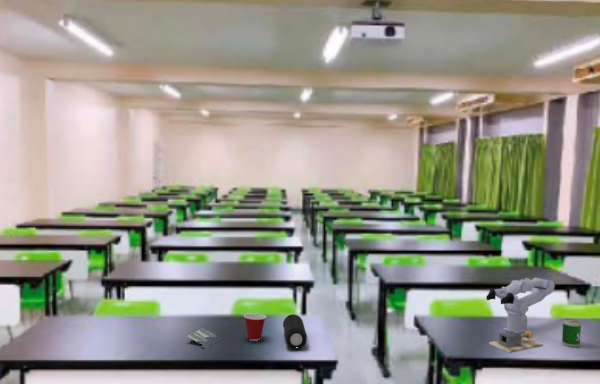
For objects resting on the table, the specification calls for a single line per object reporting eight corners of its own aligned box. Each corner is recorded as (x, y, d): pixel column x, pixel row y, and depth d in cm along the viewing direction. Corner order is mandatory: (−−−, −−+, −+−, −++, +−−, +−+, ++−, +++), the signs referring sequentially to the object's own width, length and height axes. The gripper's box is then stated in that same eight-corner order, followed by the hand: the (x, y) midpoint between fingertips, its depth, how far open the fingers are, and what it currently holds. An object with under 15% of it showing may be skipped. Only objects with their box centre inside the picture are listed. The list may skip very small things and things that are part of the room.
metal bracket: (183, 333, 237) (203, 323, 250) (180, 344, 238) (200, 334, 251) (208, 346, 231) (227, 336, 245) (205, 358, 232) (224, 347, 246)
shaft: (526, 336, 250) (526, 329, 249) (532, 339, 246) (532, 331, 246) (505, 340, 244) (506, 333, 243) (512, 343, 240) (512, 335, 240)
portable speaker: (282, 332, 257) (282, 312, 256) (302, 332, 258) (302, 312, 257) (285, 351, 231) (285, 329, 231) (307, 351, 232) (307, 329, 232)
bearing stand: (521, 337, 254) (522, 326, 254) (542, 345, 244) (543, 333, 243) (488, 343, 245) (489, 331, 244) (509, 352, 234) (509, 340, 234)
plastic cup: (270, 339, 246) (271, 315, 245) (253, 345, 238) (254, 320, 237) (255, 334, 253) (255, 310, 252) (238, 339, 245) (238, 314, 244)
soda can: (573, 349, 240) (574, 323, 239) (558, 344, 246) (559, 319, 246) (583, 346, 243) (584, 321, 242) (568, 341, 250) (569, 317, 249)
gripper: (495, 281, 264) (480, 288, 256) (522, 287, 253) (507, 296, 245) (496, 294, 266) (481, 302, 258) (523, 301, 254) (508, 309, 246)
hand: (494, 300), depth 251 cm, fingers open, 7 cm apart
